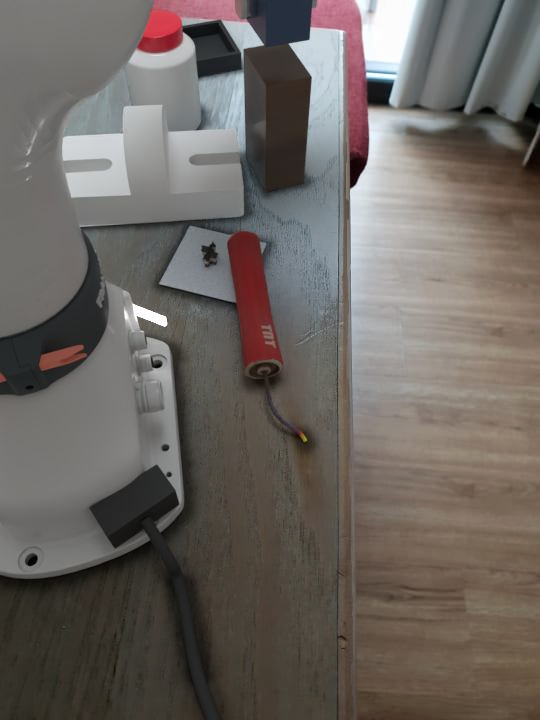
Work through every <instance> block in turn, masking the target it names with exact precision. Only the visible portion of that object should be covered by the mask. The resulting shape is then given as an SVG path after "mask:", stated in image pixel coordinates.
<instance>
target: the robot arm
mask: <svg viewBox="0 0 540 720" xmlns="http://www.w3.org/2000/svg"><path fill="white" fill-rule="evenodd" d="M154 2H155V0H0V576H2V577H7V578H13V579H23V580H30V579H31V580H35V579H46V578H53V577H59V576H63V575H68V574H71V573H76V572H79V571H82V570H85V569H88V568H91V567H96V566H98V565H101V564H103V563H106V562H108V561H111V560H113V559H117V558H118V557H121V556H123V555H125V554H127V553H131V552H132V551H134V550H135V549H138V548H139V547H141V546H143V545H144V544H146V543H148V542H151V543H152V546H153V547H154V549H155V550H156V552H157V554H158V556H159V557H160V559H161V561H162V562H163V565H164V566H165V568H166V570H167V571H168V574H169V577H170V580H171V583H172V587H173V590H174V594H175V599H176V603H177V606H178V607H177V608H178V611H179V617H180V623H181V624H180V625H181V632H182V638H183V644H184V649H185V654H186V660H187V666H188V669H189V673H190V677H191V681H192V684H193V688H194V691H195V694H196V697H197V699H198V702H199V705H200V708H201V710H202V713H203V715H204V718H205V720H223V719H222V717H221V715H220V713H219V711H218V708H217V705H216V703H215V701H214V698H213V695H212V692H211V690H210V686H209V684H208V681H207V678H206V674H205V670H204V667H203V664H202V660H201V654H200V650H199V646H198V640H197V634H196V628H195V624H194V619H193V614H192V607H191V602H190V597H189V591H188V588H187V585H186V581H185V578H184V574H183V572H182V571H183V570H182V568H181V566H180V564H179V563H178V561H177V559H176V556H175V555H174V553H173V552H172V550H171V548H170V546H169V544H168V543H167V541H166V540H165V538H164V537H163V534H162V532H163V531H165V529H167V528H168V527H169V526H170V525H171V524H172V523H173V522H174V521H175V520H176V519H177V518H178V516H180V514H181V513H182V511H183V509H184V507H185V489H184V476H183V475H184V474H183V465H182V454H181V453H182V452H181V441H180V440H181V439H180V430H179V418H178V405H177V393H176V383H175V382H176V381H175V380H176V379H175V369H174V368H175V367H174V359H173V358H174V357H173V353H172V351H171V348H170V346H169V345H168V344H167V343H166V342H164V341H162V340H160V339H157V338H153V337H148V336H147V334H146V331H145V330H141V326H140V322H139V320H138V317H139V318H143V319H145V320H147V321H151V322H153V323H156V324H157V325H160V326H163V327H166V326H167V325H168V321H167V317H166V316H165V315H161V314H159V313H157V312H153V311H152V310H148V309H147V308H144V307H141V306H138V305H136V304H134V303H133V300H132V297H131V294H130V292H129V291H127V290H125V289H124V288H122V287H120V286H117V285H115V284H114V283H112V282H110V281H108V280H107V279H106V278H105V274H104V269H103V265H102V263H101V259H100V258H99V254H98V253H97V251H96V249H95V248H94V246H93V243H92V241H91V239H90V238H89V236H88V235H87V234H86V232H85V231H84V229H82V227H80V226H79V222H78V219H77V215H76V212H75V209H74V205H73V201H72V198H71V194H70V190H69V186H68V182H67V178H66V174H65V170H64V165H63V156H62V144H63V138H64V137H65V136H64V135H65V132H66V129H67V126H68V123H69V121H70V119H71V118H72V116H73V115H74V114H75V112H76V111H77V110H78V108H80V107H81V106H82V105H83V104H85V102H86V101H87V100H89V99H91V98H93V97H94V96H96V95H97V94H99V93H100V92H102V91H103V90H104V89H105V88H106V87H108V86H109V84H111V83H112V82H113V81H114V80H115V79H116V78H117V76H118V75H119V74H120V73H121V72H122V71H123V70H124V67H125V65H126V64H127V63H128V61H129V60H130V58H131V57H132V55H133V54H134V52H135V50H136V48H137V46H138V45H139V43H140V41H141V39H142V36H143V34H144V32H145V29H146V26H147V23H148V20H149V17H150V14H151V11H152V9H153V6H154ZM317 6H318V0H312V9H316V8H317ZM256 8H257V0H234V10H235V15H237V17H238V19H239V20H240V21H241V20H242V21H244V20H247V19H249V18H254V17H257V9H256ZM156 366H160V367H158V368H157V367H156ZM155 367H156V368H155ZM34 557H37V560H36V562H35V564H33V565H29V563H30V561H31V559H32V558H34Z"/></svg>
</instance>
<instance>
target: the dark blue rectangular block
mask: <svg viewBox="0 0 540 720" xmlns="http://www.w3.org/2000/svg"><path fill="white" fill-rule="evenodd" d="M256 9H257V17H254V18H249V19H246V21H247V22H248V24H249V25H250V27H251V28H252V30H253V31H254V33H255V34H256V36H257V37H258V39H259V40H260V42H261V43H262V45H264V46H265V47H272V46H278V45H284V44H289V45H290V44H295V43H300V42H307V41H310V39H311V26H312V25H311V24H312V15H313V14H312V13H313V8H312V0H257V8H256Z"/></svg>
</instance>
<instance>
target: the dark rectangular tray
mask: <svg viewBox="0 0 540 720" xmlns="http://www.w3.org/2000/svg"><path fill="white" fill-rule="evenodd" d="M182 28H183V32H184V33H185V34H186V35H188V36H189V37H190V38H191V39H192V40H193V42H194V45H195V49H196V61H197V72H198V78H201V77H207V76H212V75H217V74H222V73H227V72H228V73H229V72H232V71H237V70H242V52H241V50H240V49H239V47H238V44H236V42H235V40H234V39H233V36H231V34H230V32H229V30H228V29H227V27H226V25H225V24H224V22H223V20H222V19H220V18H219V19H214V20H209V21H204V22H199V23H191V24H186V25H182Z"/></svg>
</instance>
